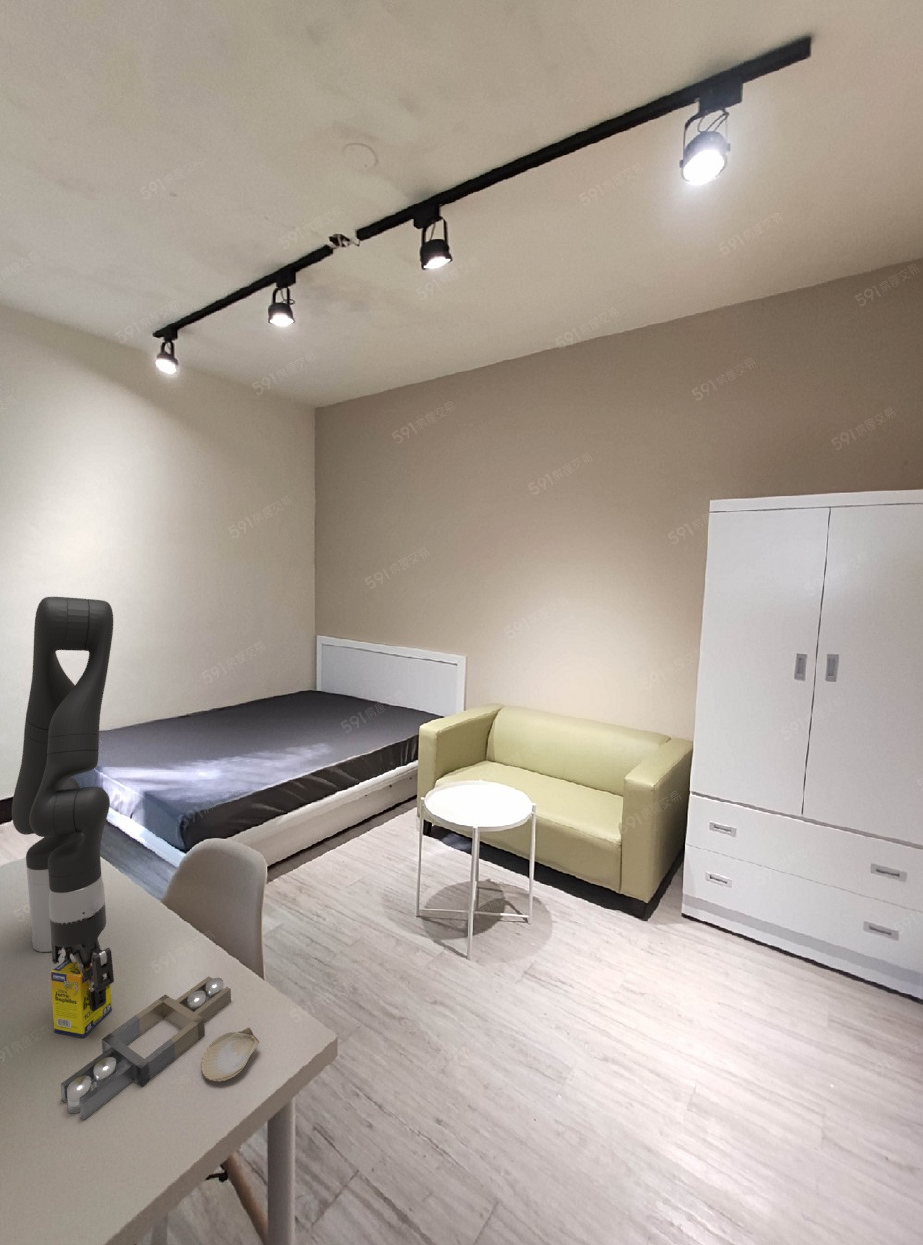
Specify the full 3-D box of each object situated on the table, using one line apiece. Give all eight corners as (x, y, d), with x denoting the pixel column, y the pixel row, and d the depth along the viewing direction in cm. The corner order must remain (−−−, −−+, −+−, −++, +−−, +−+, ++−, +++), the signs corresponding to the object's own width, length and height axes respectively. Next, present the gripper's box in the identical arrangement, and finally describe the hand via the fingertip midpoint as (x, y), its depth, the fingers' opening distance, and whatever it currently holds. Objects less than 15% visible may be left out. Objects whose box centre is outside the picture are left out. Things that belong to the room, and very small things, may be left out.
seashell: (200, 1071, 86) (211, 1098, 80) (194, 1052, 86) (205, 1078, 80) (252, 1035, 91) (266, 1058, 84) (247, 1018, 91) (261, 1039, 84)
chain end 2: (136, 1032, 91) (135, 1015, 90) (203, 983, 101) (202, 967, 101) (175, 1059, 86) (174, 1042, 85) (241, 1005, 96) (240, 989, 96)
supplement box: (84, 1039, 89) (80, 976, 88) (53, 1033, 90) (48, 971, 89) (113, 1010, 95) (110, 951, 94) (84, 1005, 96) (80, 946, 95)
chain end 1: (50, 1094, 80) (49, 1076, 80) (136, 1032, 91) (135, 1015, 90) (89, 1130, 75) (88, 1110, 75) (175, 1059, 86) (174, 1042, 85)
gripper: (29, 906, 91) (37, 996, 93) (76, 933, 84) (83, 1031, 86) (79, 883, 98) (85, 968, 99) (125, 907, 91) (131, 998, 92)
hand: (84, 997), depth 92 cm, fingers open, 8 cm apart
